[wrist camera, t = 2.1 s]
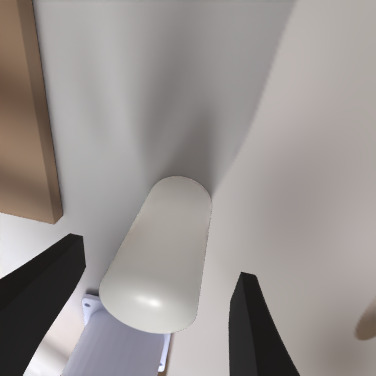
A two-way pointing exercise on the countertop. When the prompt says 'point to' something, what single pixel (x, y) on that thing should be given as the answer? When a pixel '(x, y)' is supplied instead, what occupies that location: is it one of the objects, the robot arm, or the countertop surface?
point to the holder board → (24, 121)
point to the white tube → (161, 259)
